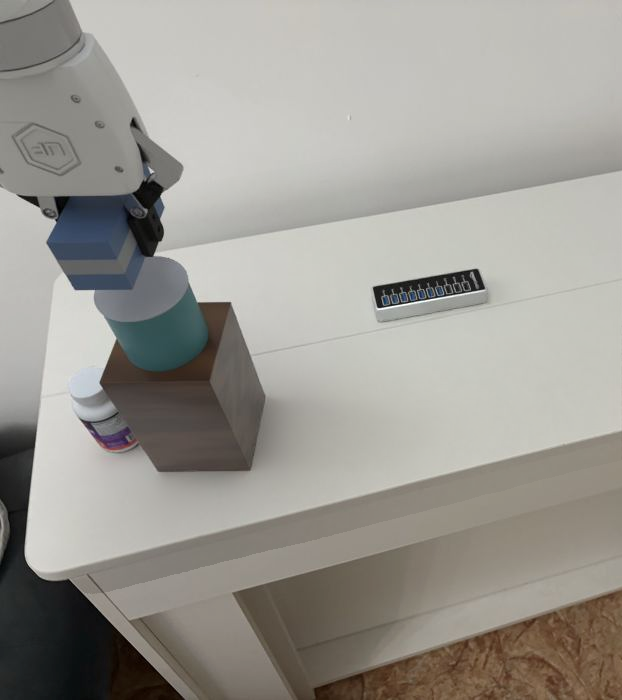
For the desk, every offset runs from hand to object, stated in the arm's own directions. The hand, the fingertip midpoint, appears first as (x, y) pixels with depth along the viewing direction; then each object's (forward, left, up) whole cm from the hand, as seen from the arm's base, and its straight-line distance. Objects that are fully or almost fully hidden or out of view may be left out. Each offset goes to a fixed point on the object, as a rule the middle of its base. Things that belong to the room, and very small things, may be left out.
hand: (120, 244), depth 58 cm
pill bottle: (0, +10, -28) cm, 30 cm away
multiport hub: (+20, -24, -28) cm, 42 cm away
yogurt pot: (0, 0, -12) cm, 12 cm away
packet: (0, 0, 0) cm, 0 cm away
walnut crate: (0, 0, -28) cm, 28 cm away
